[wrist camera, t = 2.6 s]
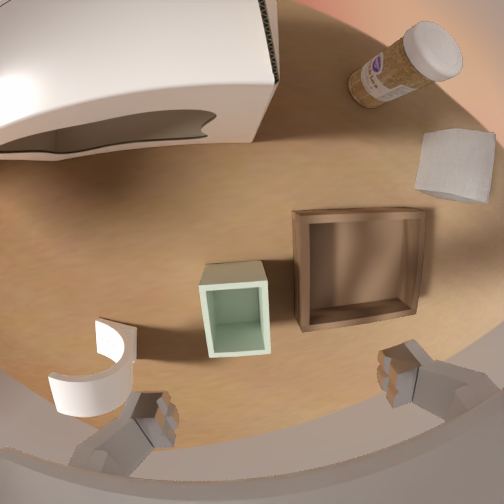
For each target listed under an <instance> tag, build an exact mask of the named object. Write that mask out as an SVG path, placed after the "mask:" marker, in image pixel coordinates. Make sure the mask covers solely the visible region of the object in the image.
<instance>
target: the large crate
mask: <svg viewBox="0 0 504 504" xmlns="http://www.w3.org/2000/svg"><path fill="white" fill-rule="evenodd" d="M425 222H426V212H425V211H421V210H416V209H412V208H407V207H386V208H349V209H323V210H302V211H292V227H293V259H294V315H295V317H296V319H297V322H298V324H299V326H300V329H301V331H302V332H310V331H318V330H326V329H333V328H340V327H347V326H353V325H359V324H366V323H371V322H377V321H383V320H388V319H394V318H399V317H404V316H409V315H414V314H416V311H417V305H418V298H419V291H420V284H421V275H422V266H423V255H424V242H425Z"/></svg>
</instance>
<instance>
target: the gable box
mask: <svg viewBox="0 0 504 504" xmlns="http://www.w3.org/2000/svg"><path fill="white" fill-rule="evenodd" d="M279 82H280V68H279V39H278V16H277V0H0V160H43V161H58V160H63V159H69V158H74V157H80V156H86V155H92V154H99V153H106V152H113V151H121V150H129V149H138V148H148V147H159V146H171V145H186V144H206V143H251V142H252V141H253V140H254V137H255V135H256V133H257V131H258V128H259V126H260V124H261V121H262V119H263V117H264V115H265V112H266V110H267V108H268V106H269V104H270V101H271V99H272V97H273V95H274V93H275V90H276V88H277V86H278V84H279Z"/></svg>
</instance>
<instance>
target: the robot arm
mask: <svg viewBox="0 0 504 504" xmlns="http://www.w3.org/2000/svg"><path fill="white" fill-rule="evenodd" d="M378 361H379V363H380V365H379V366H378V368H377V378H378V382H379V385H380V387H381V389H382V390H383V391H385V392H387V395H386V398H387V400H388V401H389V403H390V405H391V407H392V408H396V407H399V406H402V405H405V404H407V403H410V402H412V403H414V404H416V405H418V406H419V407H421V408H423V409H425V410H427V411H429V412H431V413H432V414H434V415H436V416H438V417H440V418H442V419H444V420H445V423H443V424H441V425H439V426H437V427H435V428H433V429H430V430H428V431H426V432H424V433H422V434H419V435H417V436H415V437H413V438H410V439H408V440H405V441H403V442H400V443H398V444H395V445H392V446H390V447H387V448H384V449H381V450H378V451H375V452H373V453H369V454H367V455H363V456H360V457H357V458H353V459H350V460H347V461H343V462H339V463H336V464H331V465H327V466H324V467H319V468H314V469H310V470H304V471H299V472H294V473H288V474H282V475H275V476H268V477H260V478H250V479H239V480H223V481H168V480H152V479H141V478H132V477H129V475H130V474H131V473H132V472H133V471H134V470H135V469H136V468H137V467H138V466H139V465H140V464H141V463H142V462H143V460H144V459H145V458H146V457H147V456H148V455H149V454H150V453H151V452H152V451H153V450H154V448H174V443H175V439H176V434H175V432H174V430H175V429H176V428H177V427H178V425H179V414H178V411H177V408H176V406H175V405H174V404H172V403H171V402H170V400H171V397H170V395H169V393H168V392H167V391H143V392H142V391H135V392H131V393H130V395H129V397H128V399H127V401H126V403H125V406H124V408H123V410H122V412H121V415H120V417H119V418H115V419H114V420H113V421H111V422H110V423H108V424H107V425H106V426H104V427H103V428H102V429H100V430H99V431H97V432H96V433H95V434H93V435H92V436H90V437H89V438H88V439H86V440H85V441H83V442H82V443H80V444H79V445H78V446H77V447H76V449H75V451H74V453H73V455H72V457H71V460H70V462H69V464H68V466H67V465H63V464H60V463H56V462H52V461H49V460H46V459H42V458H39V457H36V456H33V455H30V454H27V453H24V452H22V451H19V450H17V449H14V448H11V447H4V448H2V449H0V504H504V388H503V389H501V390H500V389H499V388H498V387H497V386H496V385H495V384H494V383H493V382H492V380H491V379H490V378H489V377H488V376H487V375H486V374H484V373H481V372H477V371H474V370H470V369H467V368H463V367H460V366H456V365H453V364H450V363H446V362H443V361H439V360H435V361H433V359H432V358H431V357H430V356H429V355H428V354H427V353H426V352H425V351H424V349H423V348H422V347H421V346H420V345H419V344H418V343H417V342H416V341H415V340H413V339H412V340H410V341H407V342H404V343H402V344H399V345H396V346H393V347H390V348H387V349H384V350H381V351H379V353H378Z"/></svg>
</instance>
